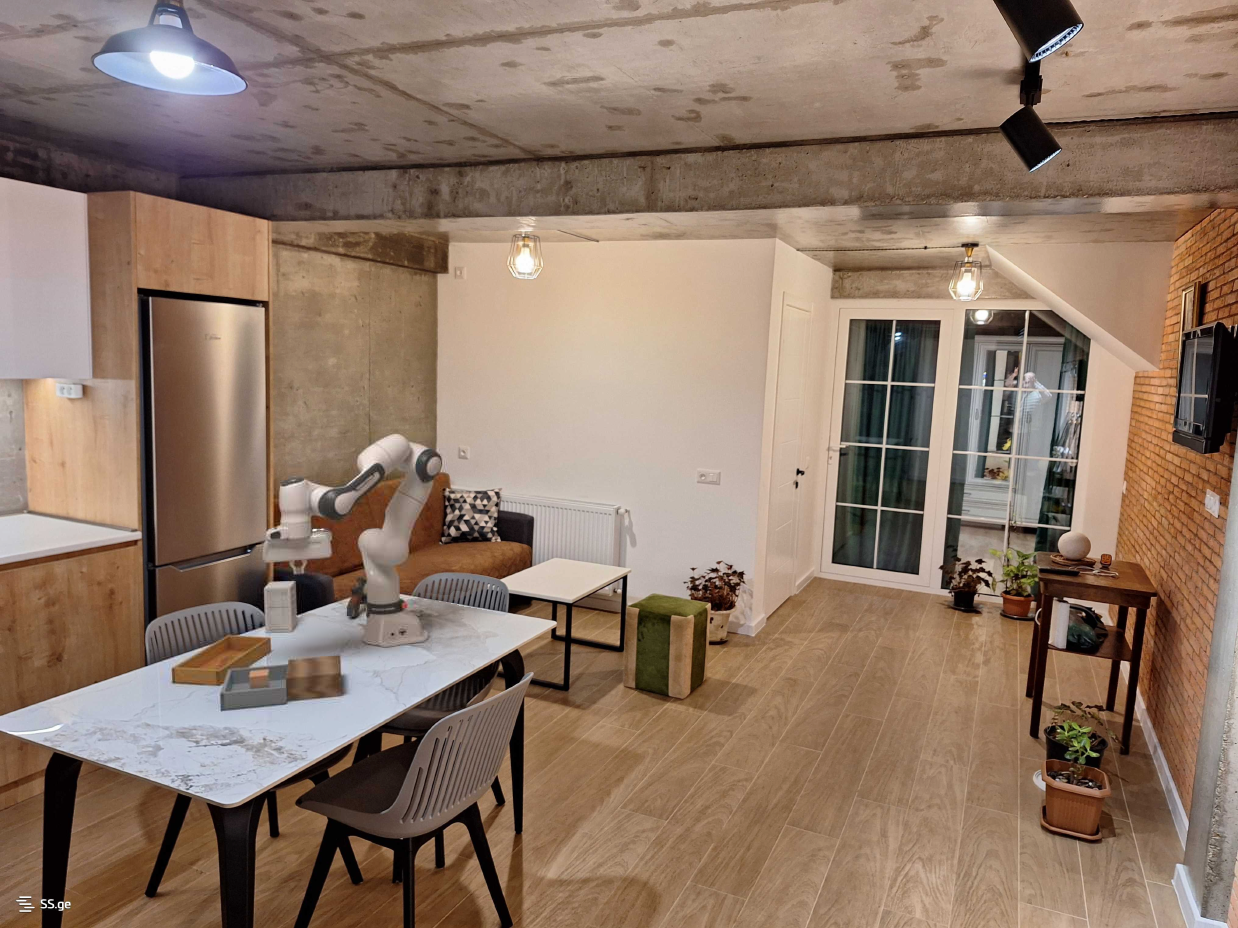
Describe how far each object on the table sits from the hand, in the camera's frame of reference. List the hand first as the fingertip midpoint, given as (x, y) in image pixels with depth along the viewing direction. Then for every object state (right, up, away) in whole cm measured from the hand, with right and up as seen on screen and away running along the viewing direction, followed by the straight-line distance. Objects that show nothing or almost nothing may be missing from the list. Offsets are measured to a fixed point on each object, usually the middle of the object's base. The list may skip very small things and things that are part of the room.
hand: (299, 573), depth 260 cm
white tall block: (-24, -27, +45) cm, 57 cm away
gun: (-1, -24, +72) cm, 76 cm away
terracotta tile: (-5, -30, -17) cm, 35 cm away
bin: (-6, -33, -16) cm, 38 cm away
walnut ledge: (+9, -33, -11) cm, 36 cm away
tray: (-26, -31, +5) cm, 41 cm away
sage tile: (-5, -30, -16) cm, 34 cm away
